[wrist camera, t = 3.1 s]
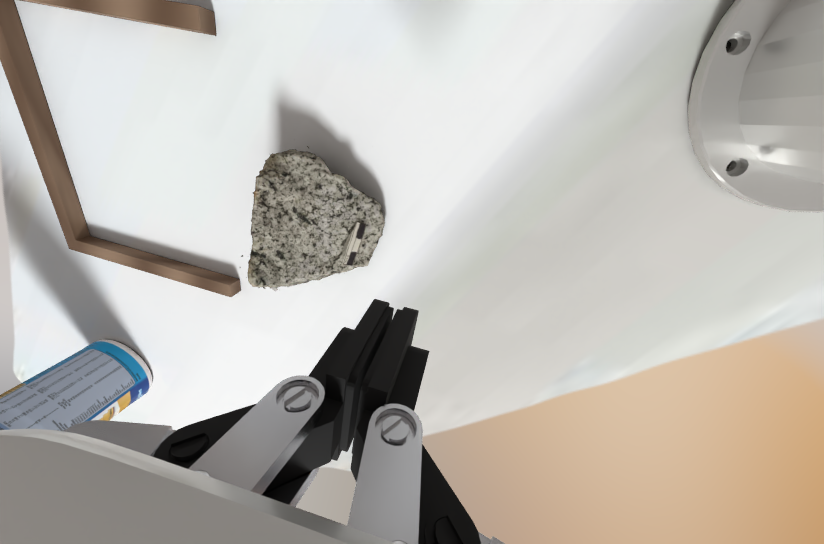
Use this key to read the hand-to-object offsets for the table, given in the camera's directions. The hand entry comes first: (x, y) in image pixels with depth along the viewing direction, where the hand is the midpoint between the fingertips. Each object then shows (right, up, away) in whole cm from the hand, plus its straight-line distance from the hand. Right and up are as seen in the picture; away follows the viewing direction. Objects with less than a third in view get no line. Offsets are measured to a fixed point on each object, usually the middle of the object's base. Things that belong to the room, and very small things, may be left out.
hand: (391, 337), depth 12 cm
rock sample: (-5, +7, +12) cm, 15 cm away
